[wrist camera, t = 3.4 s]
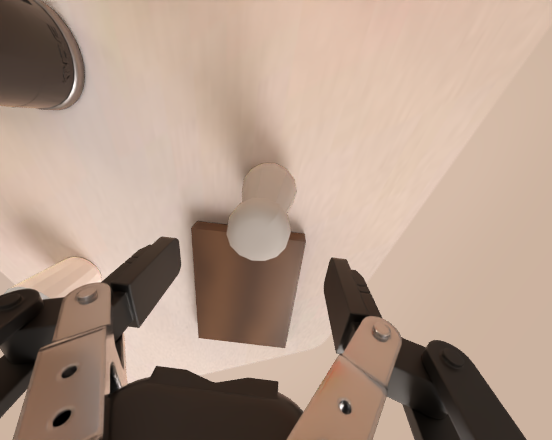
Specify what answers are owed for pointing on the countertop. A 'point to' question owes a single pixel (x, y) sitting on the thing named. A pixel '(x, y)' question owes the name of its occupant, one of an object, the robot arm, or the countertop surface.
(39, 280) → the white short cylinder
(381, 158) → the countertop surface
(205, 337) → the cutting board
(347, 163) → the countertop surface
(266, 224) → the salt shaker
